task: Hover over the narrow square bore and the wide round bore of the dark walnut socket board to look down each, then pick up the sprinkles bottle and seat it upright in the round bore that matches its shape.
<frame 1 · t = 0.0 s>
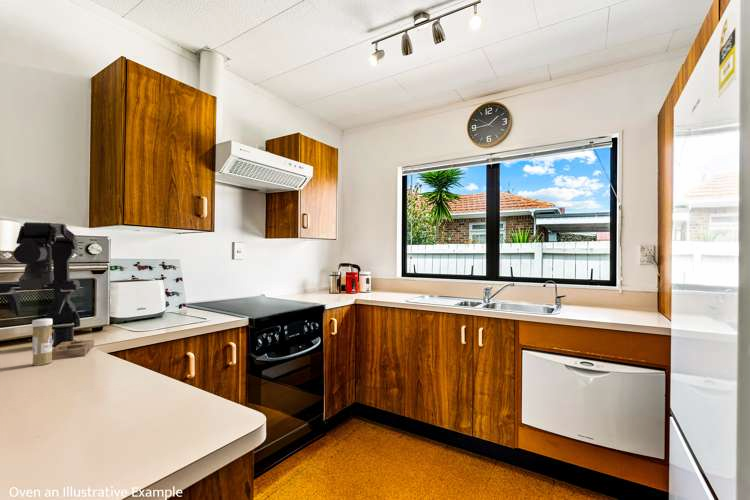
hand: (38, 315, 109), 15 cm above the countertop, tool pointing down, fingers open, 9 cm apart
sprinkles bottle: (42, 364, 109), on the countertop
socket board: (73, 352, 122), on the countertop
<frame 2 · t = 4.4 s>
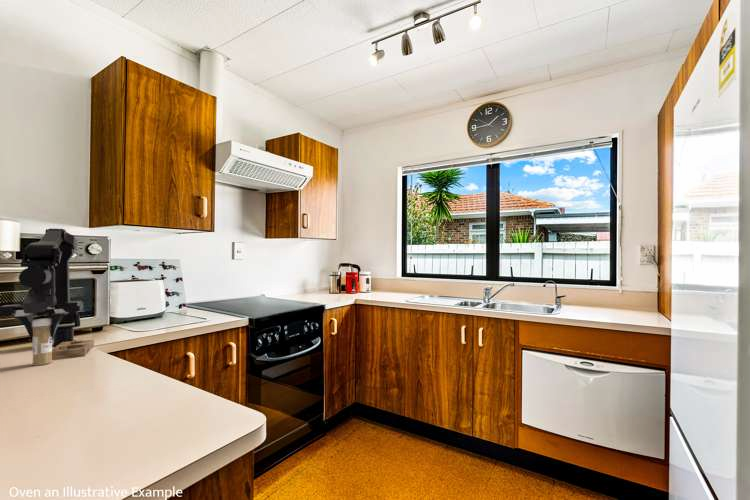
hand: (42, 337, 109), 8 cm above the countertop, tool pointing down, fingers closed on sprinkles bottle, 4 cm apart
sprinkles bottle: (42, 364, 109), on the countertop, touching gripper
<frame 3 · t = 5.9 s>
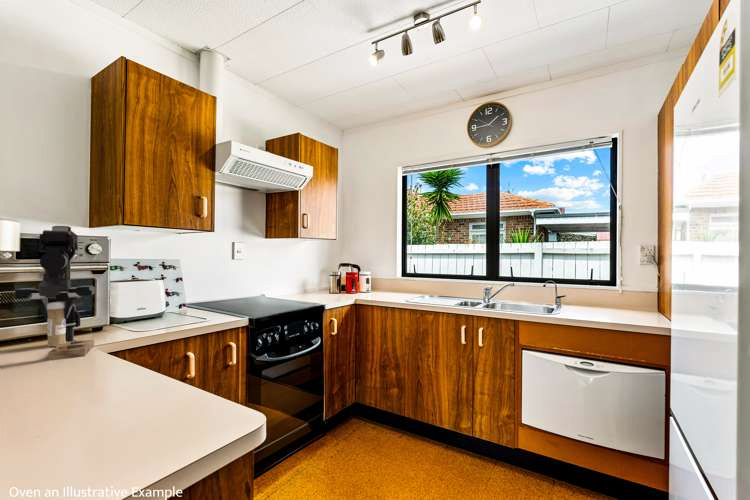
hand: (56, 319, 114), 13 cm above the countertop, tool pointing down, fingers closed on sprinkles bottle, 4 cm apart
sprinkles bottle: (56, 345, 114), point 4 cm above the countertop, touching gripper
when the fingers open (9 cm above the countertop, at t = 7.5 s): sprinkles bottle stays where it is, resting in socket board.
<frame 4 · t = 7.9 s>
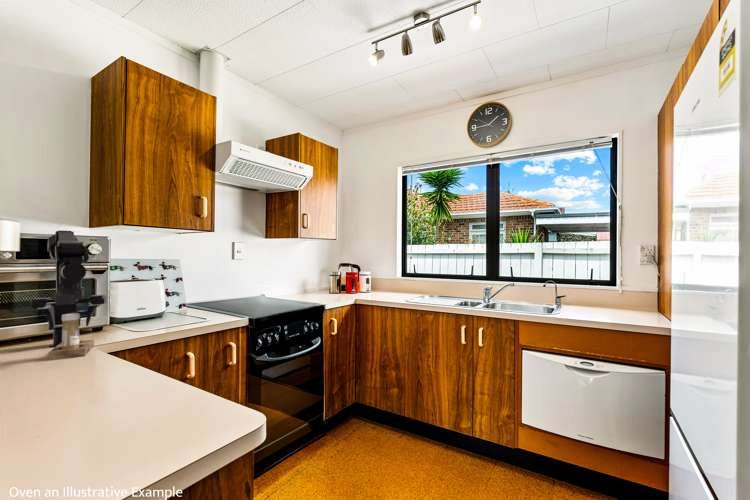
hand: (70, 327, 119), 9 cm above the countertop, tool pointing down, fingers open, 8 cm apart
sprinkles bottle: (70, 355, 119), resting in socket board
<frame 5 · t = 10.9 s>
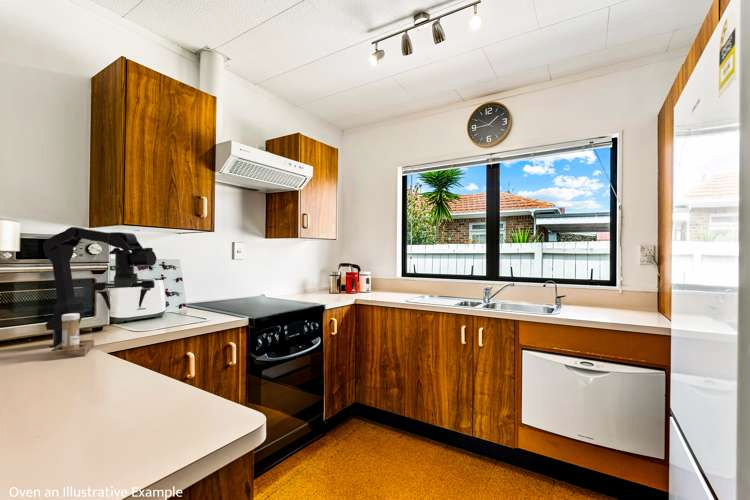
hand: (124, 308, 133), 13 cm above the countertop, tool pointing down, fingers open, 9 cm apart
nothing on the countertop moved.
at the end: sprinkles bottle 0.1 cm from the target spot on the socket board, point 0.0 cm above the socket board's base; sprinkles bottle tilted 0°; the gripper is holding nothing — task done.
